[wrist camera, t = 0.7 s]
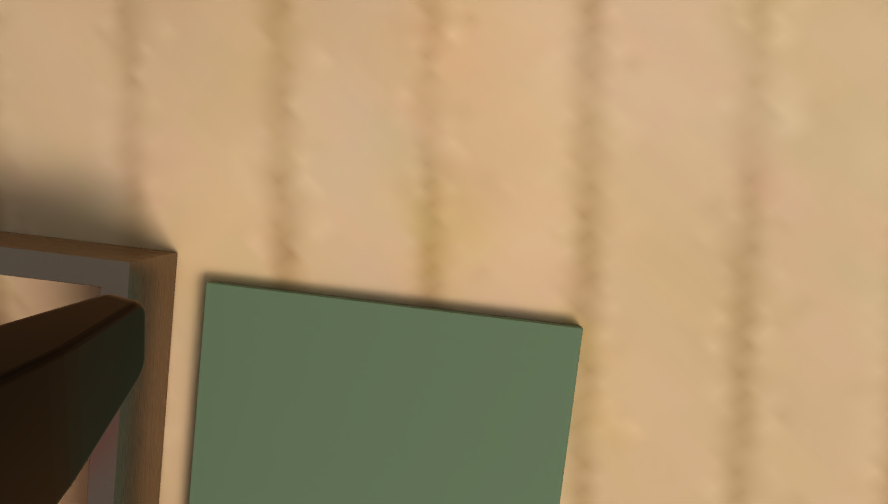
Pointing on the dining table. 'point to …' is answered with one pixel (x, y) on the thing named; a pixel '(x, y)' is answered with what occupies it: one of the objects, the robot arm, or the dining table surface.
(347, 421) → the green mat
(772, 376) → the dining table surface
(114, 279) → the dark gray square frame
